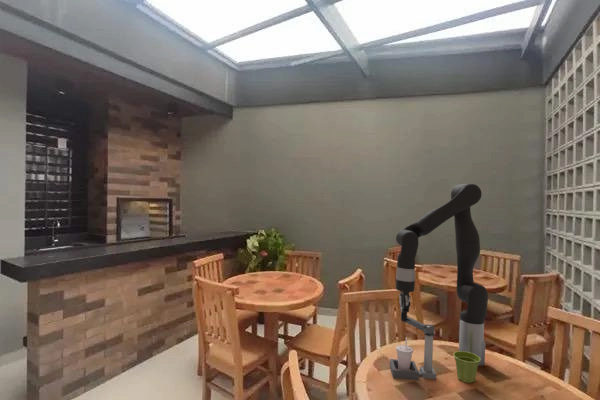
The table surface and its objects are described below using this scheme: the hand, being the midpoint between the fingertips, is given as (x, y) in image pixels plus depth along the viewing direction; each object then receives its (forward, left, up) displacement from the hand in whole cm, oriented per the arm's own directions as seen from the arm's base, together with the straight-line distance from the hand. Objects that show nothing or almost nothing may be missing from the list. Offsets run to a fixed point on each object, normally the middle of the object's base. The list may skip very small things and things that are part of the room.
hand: (403, 320), depth 143 cm
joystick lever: (-5, +3, -2) cm, 6 cm away
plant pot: (-22, +8, -18) cm, 30 cm away
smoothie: (+1, +8, -18) cm, 20 cm away
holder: (-3, +8, -18) cm, 20 cm away
